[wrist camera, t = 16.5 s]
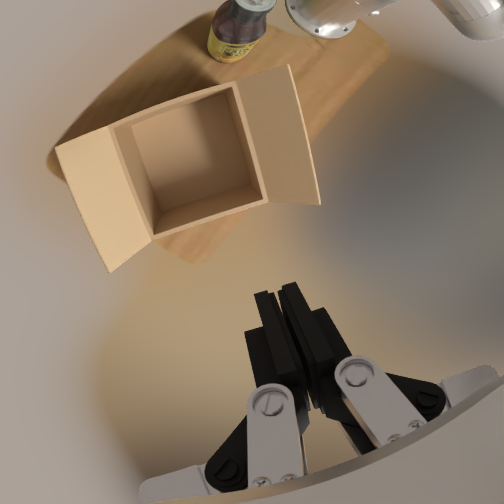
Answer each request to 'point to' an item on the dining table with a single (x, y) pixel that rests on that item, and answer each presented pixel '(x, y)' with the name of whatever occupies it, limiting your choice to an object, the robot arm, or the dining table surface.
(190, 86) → the dining table surface
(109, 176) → the flap
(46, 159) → the dining table surface
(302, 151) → the flap
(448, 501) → the robot arm
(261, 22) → the sauce bottle
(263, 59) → the dining table surface
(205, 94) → the carton
